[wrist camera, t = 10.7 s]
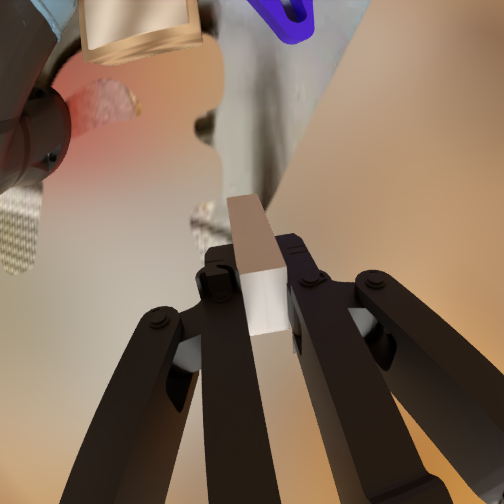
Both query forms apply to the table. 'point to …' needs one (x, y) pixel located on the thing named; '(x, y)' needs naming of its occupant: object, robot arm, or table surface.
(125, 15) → the clamp block
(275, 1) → the bracket
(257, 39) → the table surface
